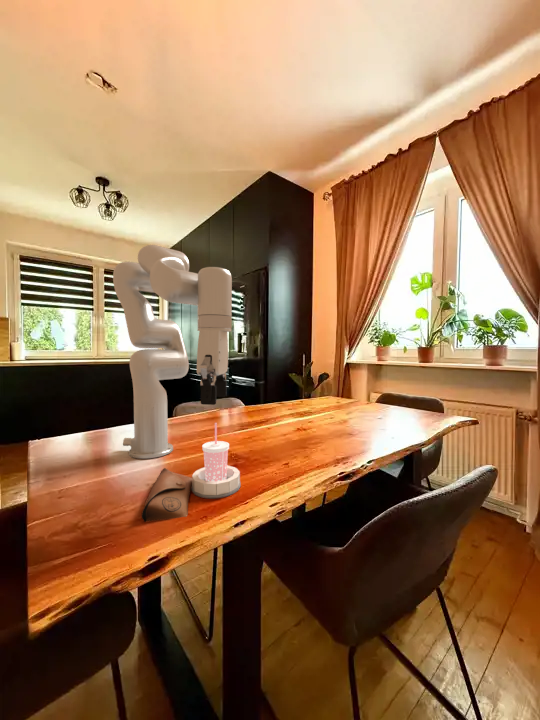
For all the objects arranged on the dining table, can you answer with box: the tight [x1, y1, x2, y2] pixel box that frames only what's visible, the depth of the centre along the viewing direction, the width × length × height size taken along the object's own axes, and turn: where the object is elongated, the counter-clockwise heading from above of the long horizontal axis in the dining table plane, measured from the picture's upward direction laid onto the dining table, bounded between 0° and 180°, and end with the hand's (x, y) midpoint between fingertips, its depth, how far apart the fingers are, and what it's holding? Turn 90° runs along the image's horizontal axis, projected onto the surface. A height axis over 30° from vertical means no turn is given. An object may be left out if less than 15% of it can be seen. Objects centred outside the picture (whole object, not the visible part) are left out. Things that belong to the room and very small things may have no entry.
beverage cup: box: [201, 422, 230, 481], centre depth 68 cm, size 6×6×14 cm
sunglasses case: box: [141, 467, 192, 523], centre depth 64 cm, size 18×7×7 cm
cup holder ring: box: [191, 464, 241, 499], centre depth 68 cm, size 11×11×3 cm
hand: (214, 400), depth 68 cm, fingers open, 9 cm apart
